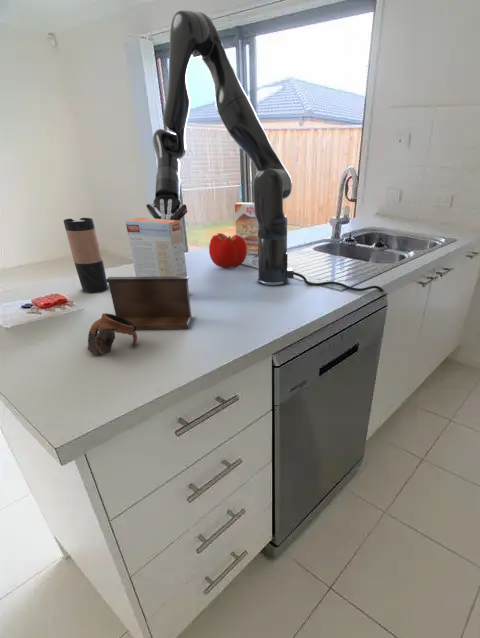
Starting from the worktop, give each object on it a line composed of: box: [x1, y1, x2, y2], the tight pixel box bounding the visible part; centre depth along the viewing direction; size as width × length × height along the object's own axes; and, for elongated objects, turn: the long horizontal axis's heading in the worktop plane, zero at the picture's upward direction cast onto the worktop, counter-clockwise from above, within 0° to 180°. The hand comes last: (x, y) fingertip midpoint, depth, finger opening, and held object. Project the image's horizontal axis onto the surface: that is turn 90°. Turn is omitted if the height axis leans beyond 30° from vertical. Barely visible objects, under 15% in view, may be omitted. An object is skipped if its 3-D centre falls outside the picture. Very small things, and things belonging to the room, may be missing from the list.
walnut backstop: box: [106, 275, 193, 331], centre depth 88 cm, size 19×7×11 cm, turn 94°
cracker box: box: [125, 217, 190, 292], centre depth 105 cm, size 14×6×21 cm, turn 71°
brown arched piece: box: [87, 313, 138, 356], centre depth 78 cm, size 12×10×8 cm
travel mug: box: [63, 217, 109, 294], centre depth 109 cm, size 8×8×20 cm
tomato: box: [208, 232, 248, 270], centre depth 136 cm, size 13×14×12 cm
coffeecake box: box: [234, 201, 258, 256], centre depth 154 cm, size 15×7×20 cm, turn 81°
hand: (166, 232), depth 115 cm, fingers closed
